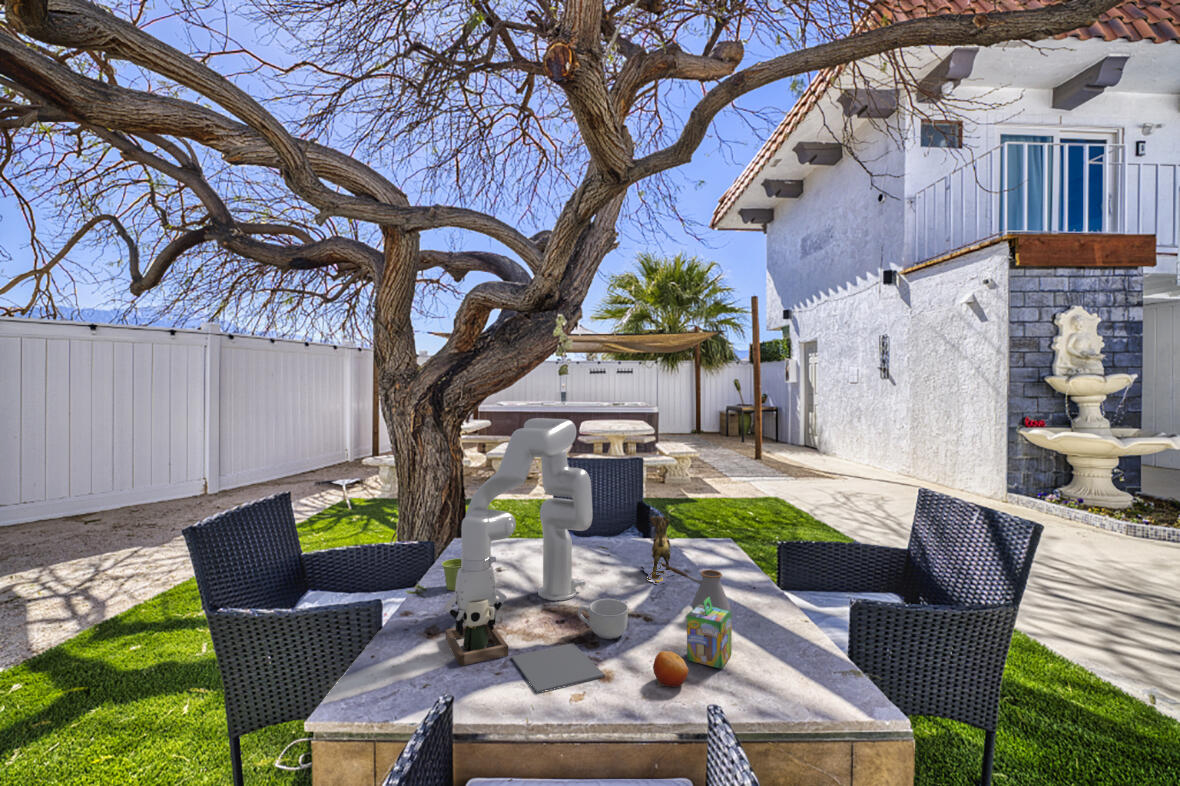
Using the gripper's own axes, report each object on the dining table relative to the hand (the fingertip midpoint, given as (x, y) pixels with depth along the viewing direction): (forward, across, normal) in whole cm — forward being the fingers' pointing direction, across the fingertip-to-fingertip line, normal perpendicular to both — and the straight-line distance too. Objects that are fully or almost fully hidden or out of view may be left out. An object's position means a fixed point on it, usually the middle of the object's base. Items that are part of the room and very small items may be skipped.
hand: (475, 630), depth 147 cm
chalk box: (+5, -52, +31) cm, 61 cm away
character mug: (+5, 0, 0) cm, 5 cm away
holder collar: (+4, 0, 0) cm, 4 cm away
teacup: (+5, -34, +7) cm, 35 cm away
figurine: (+4, -76, -30) cm, 82 cm away
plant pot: (+5, -5, -46) cm, 47 cm away
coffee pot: (+5, -65, +7) cm, 66 cm away
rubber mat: (+4, -15, +19) cm, 25 cm away
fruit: (+5, -36, +37) cm, 52 cm away
